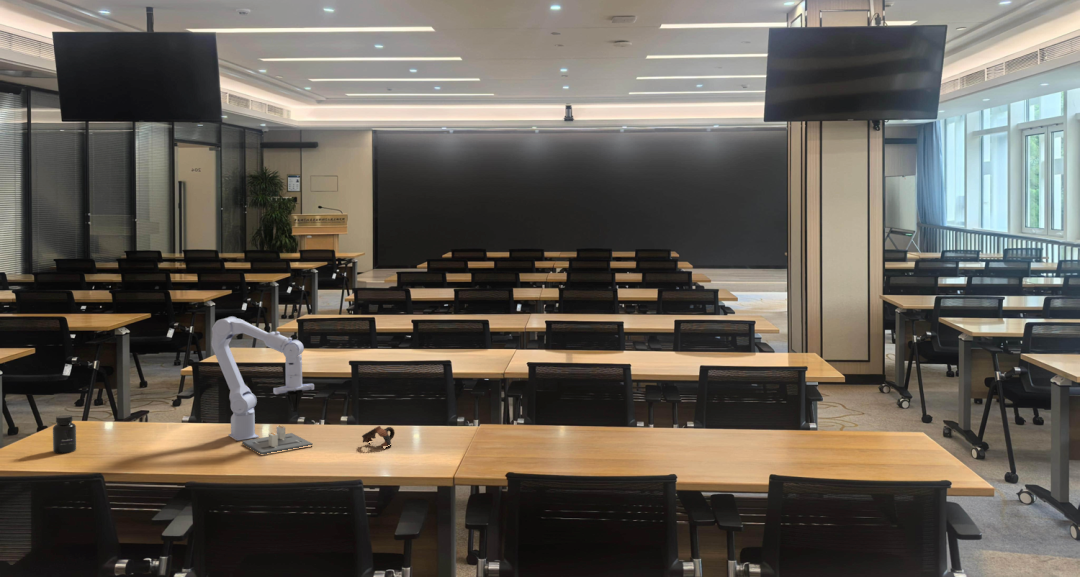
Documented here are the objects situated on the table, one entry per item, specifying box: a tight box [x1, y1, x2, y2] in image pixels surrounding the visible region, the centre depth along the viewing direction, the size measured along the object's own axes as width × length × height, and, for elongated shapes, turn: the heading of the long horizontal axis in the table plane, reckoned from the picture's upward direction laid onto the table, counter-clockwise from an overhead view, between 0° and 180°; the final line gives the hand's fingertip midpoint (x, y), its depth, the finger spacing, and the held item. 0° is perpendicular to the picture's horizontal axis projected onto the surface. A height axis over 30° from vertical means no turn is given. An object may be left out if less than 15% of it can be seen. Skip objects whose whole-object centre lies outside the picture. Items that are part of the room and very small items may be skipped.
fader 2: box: [276, 425, 286, 439], centre depth 291 cm, size 3×2×4 cm, turn 40°
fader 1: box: [268, 432, 278, 447], centre depth 281 cm, size 3×2×4 cm, turn 40°
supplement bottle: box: [52, 414, 77, 455], centre depth 277 cm, size 7×7×12 cm
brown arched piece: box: [361, 425, 395, 447], centre depth 288 cm, size 12×10×8 cm
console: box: [241, 432, 313, 454], centre depth 286 cm, size 18×18×1 cm
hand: (294, 411), depth 296 cm, fingers closed
